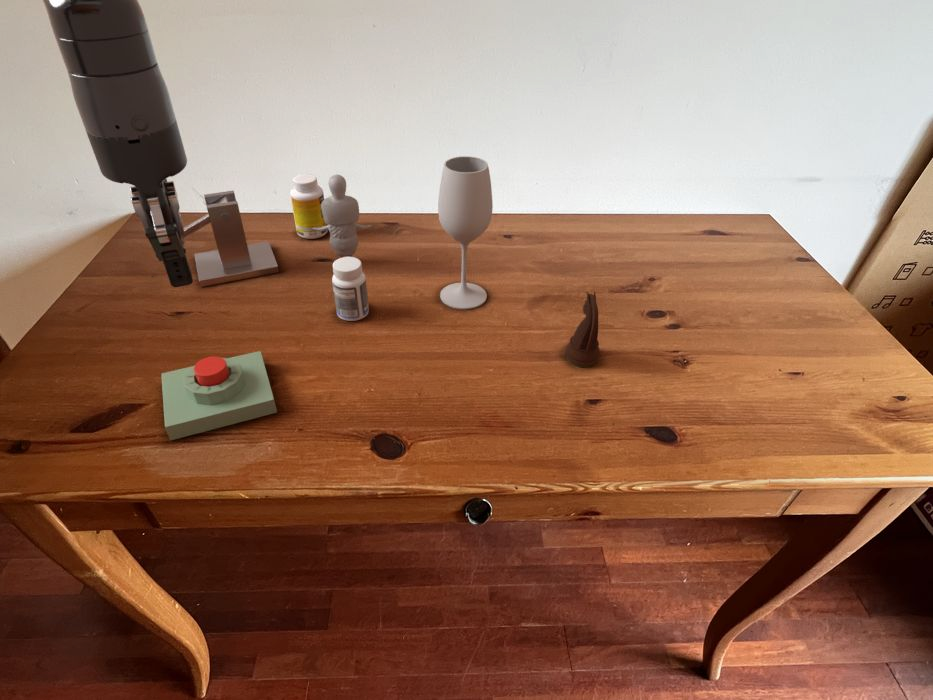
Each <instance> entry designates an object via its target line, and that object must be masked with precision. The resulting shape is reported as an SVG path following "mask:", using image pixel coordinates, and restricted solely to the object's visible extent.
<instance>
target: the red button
mask: <svg viewBox="0 0 933 700" xmlns="http://www.w3.org/2000/svg"><path fill="white" fill-rule="evenodd" d="M223 358H224V357H221V356H215V355H214V356H208V357H204V358H202V359H200V360H198V361H197V362H196V364H194V365H195V367H194V372H195V375H196V378H197V381H198V383H199V384H200V385H202V386H206V387H212V386H216V385H219V384H221V383H223V382H224V381H226V380H227V378H228V377H229V371H228V367H227V364H226V361H225V360H224V359H223Z"/></svg>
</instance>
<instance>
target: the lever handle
mask: <svg viewBox="0 0 933 700" xmlns="http://www.w3.org/2000/svg"><path fill="white" fill-rule="evenodd" d="M225 202H230V201H229V200H228V199H227V198H226V197H223V198H222V199H220V200H218V201H217V202H215V203H213V204H218V203H225ZM209 224H211V222H210V218H209V214H208V213H206V214H205V215H202V216H201V217H200V218H198V219H196V220H195V221H193V222H191V223H190V224H188V225H186V226H183V229H184V235H183V236H182V239H183V238H184V239H185V238H187V237H188V236H190V235H192V234H194V233H195V232H197V231H199V230H201V229H202V228H204V227H206V226H207V225H209Z"/></svg>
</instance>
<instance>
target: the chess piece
mask: <svg viewBox="0 0 933 700" xmlns="http://www.w3.org/2000/svg"><path fill="white" fill-rule="evenodd" d="M582 312H583V315H585V317H584V318H583V319H582V320H581V322H580V323H579V324H578V326H577V328H576V329H575V331H574V334H573V335H572V336H571V337H570V339H569V342H568V343H567V345H566V347H565V352H564V357H565V358H566V359H565V360H567V362H568V363H570V364H572V365H573V366H576V367H579V368H589V367H593V366H595V365H596V364H597V363H598V362H599V360H600V347H599V345H600V343H599V341H598V338H599V307H598V303H597V296H596V291H594V292H593V293H589V291H587V292H586V300H585V301H584V304H583V305H582Z"/></svg>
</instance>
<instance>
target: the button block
mask: <svg viewBox="0 0 933 700" xmlns="http://www.w3.org/2000/svg"><path fill="white" fill-rule="evenodd" d="M222 358H223V359H224V360H225V361H226V364H227V367H228V371H229V377H228V378H227V380H226V381H224V382H223V383H221V384H219V385H216V386H212V387H206V386H202V385H200V384H199V383H198V381H197V378H196V375H195V372H194V367H195V365H196V364H194V365H193V366H188V367H184V368H179V369H174V370H171V371H165V372H161V374H160V375H161V377H160V378H161V389H162V402H163V403H162V405H163V419H164V428H165V431H166V433H167V436H168V438H169V441H174V440H178V439H182V438H185V437H189V436H193V435H196V434H200V433H204V432H208V431H212V430H217V429H220V428H223V427H227V426H231V425H235V424H239V423H243V422H247V421H250V420H251V421H252V420H254V419H259V418H261V417H265V416H266V417H267V416H269V415H273V414H277V413H278V410H277V405H276V402H275V398H274V394H273V390H272V387H271V384H270V380H269V375H268V372H267V369H266V365H265V361H264V357H263V354H262V351H261V350H259V351H254V352H249V353H245V354H241V355H240V354H239V355H237V356H232V357H222Z"/></svg>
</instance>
